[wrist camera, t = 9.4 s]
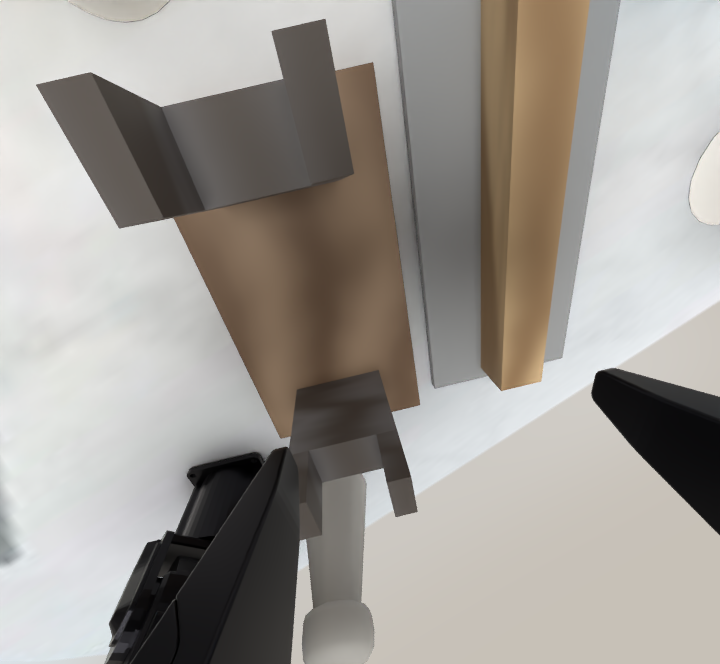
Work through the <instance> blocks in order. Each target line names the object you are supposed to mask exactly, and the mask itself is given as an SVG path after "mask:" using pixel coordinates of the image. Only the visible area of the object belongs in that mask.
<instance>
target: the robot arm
mask: <svg viewBox="0 0 720 664" xmlns="http://www.w3.org/2000/svg"><path fill="white" fill-rule="evenodd" d="M591 394H592V398H593V400H594V402H595V403H596V404H597V405H598V407H599V408H600V409H601V410H602V411H603V413H604V414H605V415H606V416H607V417H608V418H609V420H610V421H611V422H612V423H613V425H614V426H615V427H616V428H617V429H618V430H619V432H620V433H621V434H622V435H623V436H624V438H625V439H626V440H627V441H628V442H629V443H630V445H631V446H632V447H633V448H634V449H635V450H636V451H637V452H638V453H639V454H640V455H641V456H642V458H643V459H644V460H645V461H647V463H648V464H649V465H650V466H651V467H652V468H654V469H655V471H656V472H657V473H658V474H659V475H661V477H662V478H663V479H664V480H665V481H666V482H667V483H668V484H669V485H670V486H671V487H672V488H673V489H674V490H675V491H676V492H677V493H678V494H679V495H680V496H681V497H682V498H683V499H684V500H685V501H686V502H687V503H688V504H689V505H690V506H691V507H692V508H693V509H694V510H695V511H696V512H697V513H698V514H699V515H700V516H701V517H702V518H703V519H704V520H705V521H706V522H707V523H708V524H709V525H710V526H711V527H712V528H713V529H714V530H715V531H716V532H717V533H718V534H719V535H720V397H718V396H715V395H711V394H707V393H704V392H700V391H696V390H693V389H689V388H685V387H682V386H678V385H674V384H671V383H667V382H664V381H660V380H656V379H653V378H649V377H646V376H642V375H638V374H635V373H631V372H627V371H624V370H620V369H616V368H610V369H605V370H601V371H598V372H597V373H596V375H595V379H594V383H593V387H592V392H591ZM187 477H188V479H189V480H190V481H191V482H192V484H193V485H194V486H195V488H194V490H193V492H192V495H191V497H190V500H189V502H188V504H187V507H186V509H185V511H184V514H183V516H182V518H181V521H180V523H179V525H178V528H177V530H176V532H172V531H166V533H165V534H164V536H163V538H162V539H161V540H159V539H158V540H157V541H153V542H149V543H147V544H146V546H145V548H144V550H143V552H142V554H141V556H140V558H139V560H138V562H137V564H136V566H135V568H134V570H133V572H132V574H131V576H130V578H129V581H128V583H127V585H126V587H125V589H124V591H123V594H122V596H121V598H120V600H119V602H118V605H117V607H116V609H115V611H114V613H113V615H112V618H111V620H110V622H109V626H110V630H111V633H112V639H111V641H110V644H109V647H111V648H110V650H109V653H108V656H107V658H106V661H105V664H291V652H292V638H293V624H294V611H295V598H296V597H295V596H296V584H297V570H298V556H299V543H300V505H299V473H298V467H297V464H296V462H295V460H294V458H293V455H292V453H291V451H290V449H289V448H288V447H283V448H279V449H275V450H273V451H272V452H271V454H270V455H269V457H268V458H267V460H266V461H265V463H264V462H263V460H262V458H261V457H260V455H259V454H255V453H254V454H249V455H245V456H241V457H237V458H233V459H228V460H224V461H220V462H216V463H212V464H208V465H204V466H199V467H195V468H192V469H190V470H189V471H188V473H187ZM174 533H175V534H174ZM161 577H163V578H161Z"/></svg>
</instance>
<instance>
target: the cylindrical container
mask: <svg viewBox="0 0 720 664" xmlns="http://www.w3.org/2000/svg"><path fill="white" fill-rule="evenodd" d="M68 1H69V2H70V3H72V4H73V5H75V6H77V7H79V8H80V9H82V10H84V11H86V12H88V13H89V14H92V15H95V16H98V17H101V18H104V19H106V20H111V21H120V22H131V21H137V20H143V19H145V18H147V17H149V16H151V15H153V14H155V13H157V12H158V11H159V10H160V9H161V8H162V7H163V6H164V5H165V4H166V3H167V2H169V0H68Z"/></svg>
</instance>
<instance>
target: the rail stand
mask: <svg viewBox="0 0 720 664" xmlns="http://www.w3.org/2000/svg"><path fill="white" fill-rule="evenodd" d="M272 35H273V39H274V43H275V47H276V51H277V55H278V59H279V63H280V67H281V70H282V74H283V78H284V79H282V80H278V81H273V82H269V83H265V84H260V85H256V86H251V87H247V88H243V89H238V90H234V91H230V92H225V93H221V94H217V95H212V96H208V97H204V98H199V99H195V100H190V101H186V102H182V103H177V104H173V105H169V106H164V107H160V106H158V105H156V104H154V103H152V102H150V101H148V100H145V99H143V98H141V97H139V96H137V95H135V94H133V93H131V92H129V91H127V90H125V89H123V88H121V87H119V86H117V85H115V84H113V83H111V82H109V81H107V80H105V79H103V78H101V77H99V76H97V75H95V74H93V73H91V72H90V73H85V74H81V75H77V76H72V77H68V78H63V79H59V80H55V81H50V82H46V83H41V84H37V85H36V86H37V87H38V89H39V91H40V93H41V94H42V96H43V98H44V99H45V101H46V103H47V105H48V106H49V108H50V110H51V112H52V113H53V115H54V117H55V118H56V120H57V122H58V124H59V125H60V127H61V129H62V130H63V132H64V134H65V136H66V137H67V139H68V141H69V143H70V144H71V146H72V148H73V149H74V151H75V153H76V155H77V156H78V158H79V160H80V162H81V163H82V165H83V167H84V168H85V170H86V172H87V174H88V175H89V177H90V179H91V180H92V182H93V184H94V186H95V187H96V189H97V191H98V193H99V194H100V196H101V198H102V199H103V201H104V203H105V205H106V206H107V208H108V210H109V212H110V213H111V215H112V217H113V218H114V220H115V222H116V224H117V225H118V227H119V228H124V227H129V226H134V225H139V224H144V223H149V222H154V221H159V220H164V219H169V218H174V220H175V222H176V224H177V226H178V228H179V230H180V232H181V234H182V236H183V238H184V240H185V242H186V244H187V247H188V249H189V251H190V253H191V255H192V257H193V259H194V261H195V263H196V265H197V267H198V269H199V271H200V273H201V275H202V277H203V280H204V282H205V284H206V286H207V288H208V290H209V292H210V294H211V296H212V298H213V300H214V302H215V304H216V306H217V308H218V311H219V313H220V315H221V317H222V319H223V321H224V323H225V325H226V327H227V329H228V331H229V333H230V335H231V337H232V339H233V341H234V344H235V346H236V348H237V350H238V352H239V354H240V356H241V358H242V360H243V362H244V364H245V366H246V368H247V370H248V372H249V374H250V377H251V379H252V381H253V383H254V385H255V387H256V389H257V391H258V393H259V395H260V397H261V399H262V401H263V403H264V405H265V407H266V410H267V412H268V414H269V416H270V418H271V420H272V422H273V424H274V426H275V428H276V430H277V432H278V434H279V436H280V438H285V437H290V436H291V439H290V446H289V449H290V451H291V453H292V455H293V458H294V460H295V462H296V464H297V467H298V473H299V505H300V540H304V539H308V538H312V537H316V536H321V535H322V483H323V482H328V481H332V480H336V479H340V478H344V477H348V476H352V475H356V474H360V473H365V472H369V471H373V470H377V469H381V468H384V472H385V476H386V481H387V485H388V489H389V493H390V497H391V501H392V505H393V509H394V513H395V516H396V517H398V516H402V515H406V514H411V513H415V512H417V506H416V501H415V495H414V490H413V485H412V479H411V475H410V472H409V468H408V465H407V462H406V459H405V455H404V452H403V449H402V445H401V442H400V439H399V436H398V432H397V429H396V426H395V422H394V419H393V416H392V413H391V412H393V411H397V410H402V409H406V408H410V407H414V406H418V405H420V400H419V393H418V386H417V379H416V371H415V364H414V357H413V349H412V342H411V335H410V327H409V320H408V313H407V306H406V298H405V291H404V284H403V276H402V269H401V262H400V254H399V247H398V240H397V233H396V225H395V218H394V211H393V203H392V196H391V189H390V182H389V174H388V167H387V160H386V152H385V145H384V138H383V130H382V123H381V116H380V109H379V101H378V94H377V87H376V79H375V72H374V65H373V62H372V63H368V64H363V65H359V66H355V67H350V68H346V69H342V70H337V71H335V68H334V63H333V57H332V52H331V47H330V41H329V36H328V31H327V25H326V20H325V19H322V20H318V21H314V22H309V23H305V24H301V25H296V26H292V27H287V28H283V29H279V30H274V31H272Z"/></svg>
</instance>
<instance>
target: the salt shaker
mask: <svg viewBox="0 0 720 664" xmlns="http://www.w3.org/2000/svg"><path fill="white" fill-rule="evenodd" d="M365 506H366V481H365V478H364V477H363V475H362V473H360V474H356V475H352V476H348V477H344V478H340V479H336V480H332V481H328V482H323V483H322V535H321V536H316V537H312V538H308V539H306V541H307V550H308V559H309V568H310V569H309V570H310V578H311V579H310V580H311V590H312V600H313V609H312V610H311V611H310V612H309V613H308V614H307V615H306V616H305V620H304V623H303V636H302V651H303V661H304V663H305V664H364V663H365V662H367V660H368V658H369V657H370V655H371V653H372V650H373V647H374V626H373V620H372V615H371V612H370V610H369V608H368V607H367V606H366V605H365V604H364V603H361V595H362V571H363V550H364V528H365Z"/></svg>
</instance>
